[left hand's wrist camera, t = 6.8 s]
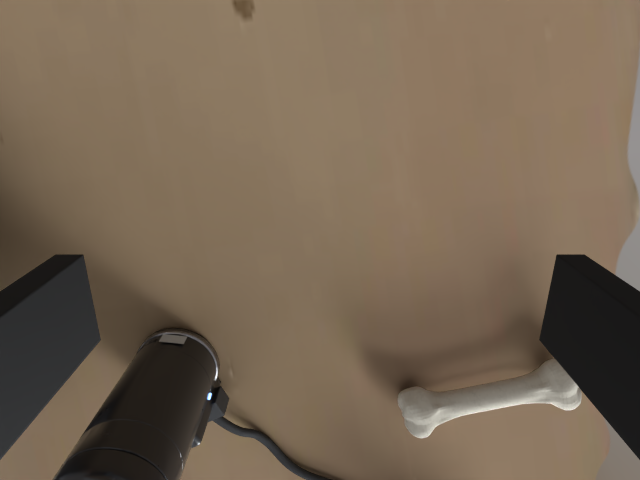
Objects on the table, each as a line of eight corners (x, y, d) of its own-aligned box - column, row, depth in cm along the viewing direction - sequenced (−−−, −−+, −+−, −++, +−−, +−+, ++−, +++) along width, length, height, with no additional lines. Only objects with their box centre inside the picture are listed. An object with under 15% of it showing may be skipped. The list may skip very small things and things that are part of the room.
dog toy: (402, 420, 54) (409, 452, 49) (392, 381, 52) (399, 410, 47) (567, 387, 52) (592, 417, 48) (564, 345, 50) (590, 372, 46)
